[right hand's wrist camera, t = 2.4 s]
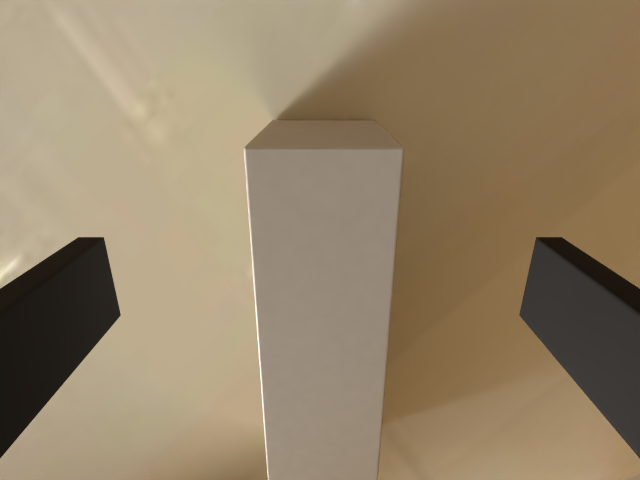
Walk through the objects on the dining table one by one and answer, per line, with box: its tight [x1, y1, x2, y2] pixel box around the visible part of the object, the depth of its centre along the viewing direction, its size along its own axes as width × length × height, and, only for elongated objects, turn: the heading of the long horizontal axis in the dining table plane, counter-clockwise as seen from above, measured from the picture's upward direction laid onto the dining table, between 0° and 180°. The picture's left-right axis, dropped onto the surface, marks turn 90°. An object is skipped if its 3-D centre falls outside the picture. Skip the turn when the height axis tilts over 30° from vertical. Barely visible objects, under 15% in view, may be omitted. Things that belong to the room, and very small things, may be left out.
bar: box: [244, 120, 404, 480], centre depth 22 cm, size 23×6×8 cm, turn 0°
